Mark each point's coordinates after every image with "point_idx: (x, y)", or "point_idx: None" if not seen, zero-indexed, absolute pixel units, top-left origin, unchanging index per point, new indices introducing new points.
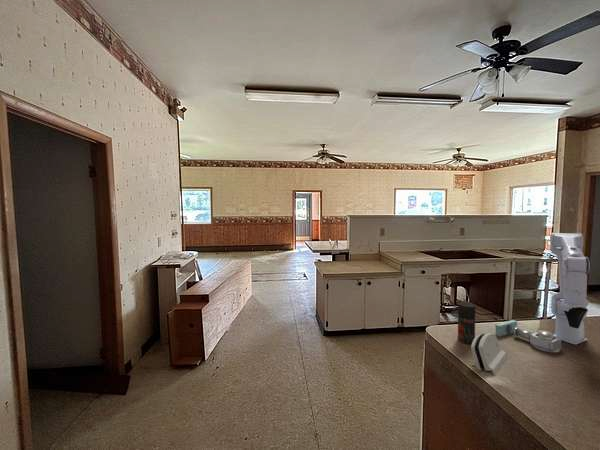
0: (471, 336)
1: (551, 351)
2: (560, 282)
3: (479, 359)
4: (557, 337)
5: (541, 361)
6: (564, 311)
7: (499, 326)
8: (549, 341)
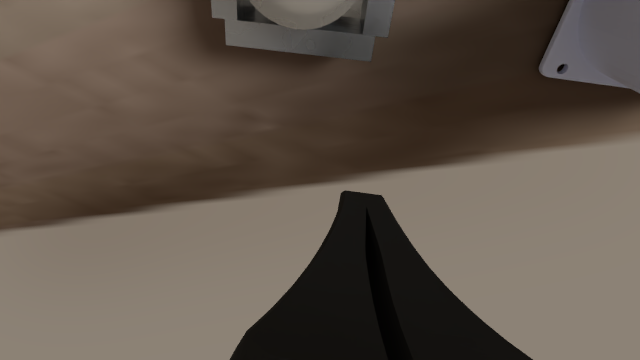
0: None
1: None
2: None
3: None
4: (372, 33)
5: (56, 24)
6: (270, 314)
7: None
8: (225, 17)
